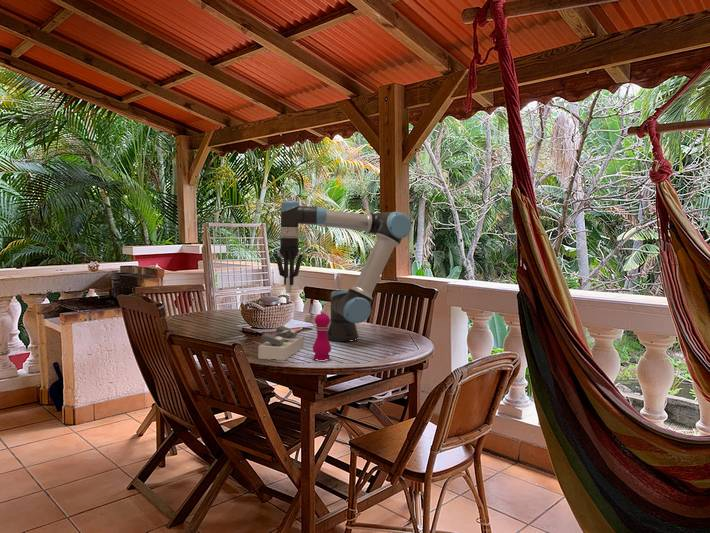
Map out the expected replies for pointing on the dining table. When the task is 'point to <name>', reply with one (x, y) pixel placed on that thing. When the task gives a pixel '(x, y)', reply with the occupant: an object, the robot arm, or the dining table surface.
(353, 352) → the dining table surface
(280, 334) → the rocker
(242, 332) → the dining table surface
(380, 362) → the dining table surface
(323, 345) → the pepper mill
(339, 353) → the dining table surface
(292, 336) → the rocker
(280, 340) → the rocker
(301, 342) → the power strip
